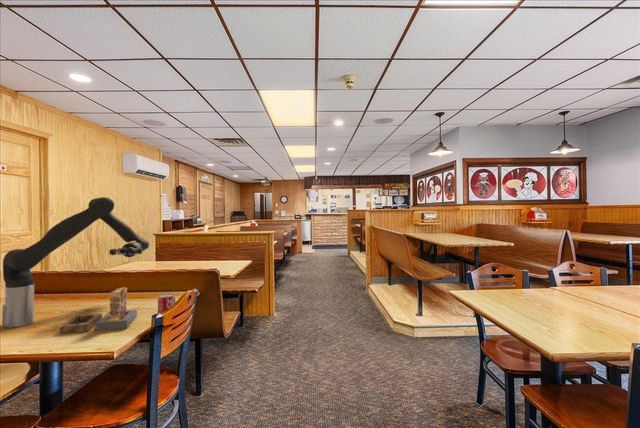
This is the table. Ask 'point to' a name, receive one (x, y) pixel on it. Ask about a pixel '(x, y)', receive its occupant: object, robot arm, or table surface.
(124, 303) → the candy box
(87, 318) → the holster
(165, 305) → the soda can
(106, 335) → the table surface
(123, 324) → the dock
